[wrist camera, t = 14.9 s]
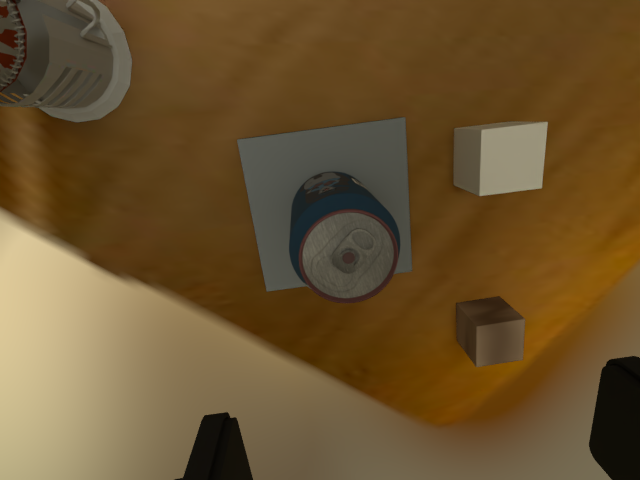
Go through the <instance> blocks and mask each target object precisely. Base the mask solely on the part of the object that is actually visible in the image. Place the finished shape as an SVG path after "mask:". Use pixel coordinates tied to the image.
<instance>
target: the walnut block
mask: <svg viewBox="0 0 640 480" xmlns="http://www.w3.org/2000/svg"><path fill="white" fill-rule="evenodd" d="M456 322H457V341H458V342H459V344H460V345H461V346H462V348H463V349H464V351H465V352H466V353H467V355H468V356H469V357H470V359H471V360H472V362H473V363H474V364H475V366H476V367H480V366H486V365H493V364H499V363H505V362H512V361H518V360H523V348H524V329H525V319H524V318H523V317H522V316H521V315H520V314H519V313H518V312H516V311H515V310H514V309H513V308H512V307H511V306H510V305H509V304H507V303H506V302H505V301H504V300H503V299H502V298H501V297H499V296H498V297H492V298H485V299H479V300H472V301H466V302H460V303H456Z"/></svg>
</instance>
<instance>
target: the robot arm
mask: <svg viewBox="0 0 640 480" xmlns="http://www.w3.org/2000/svg"><path fill="white" fill-rule="evenodd" d="M589 447H590V451H591V453H592V456H593V457H594V459H595V460H596V461H597V463H598V464H599V465H600V466H601V467H602V469H603V470H604V471H605V472H606V473H607V474H608V476H609V477H610V478H611V479H612V480H640V358H639V357H636V356H632V357H624V358H617V359H611V360H609V361H608V362H607V364H606V366H605V367H603V369H602V372H601V377H600V383H599V390H598V395H597V401H596V407H595V413H594V418H593V424H592V430H591V436H590V442H589ZM175 480H253V478H252V474H251V470H250V467H249V463H248V459H247V455H246V451H245V447H244V444H243V440H242V436H241V432H240V428H239V425H238V421H237V418H230V416H229V414H228V413H219V414H211V415H205V416H204V417H203V419H202V421H201V424H200V427H199V431H198V434H197V437H196V440H195V443H194V446H193V449H192V452H191V455H190V458H189V461H188V465H187V468H186V471H185V474H184V477H183V478H180V479H175Z"/></svg>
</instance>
